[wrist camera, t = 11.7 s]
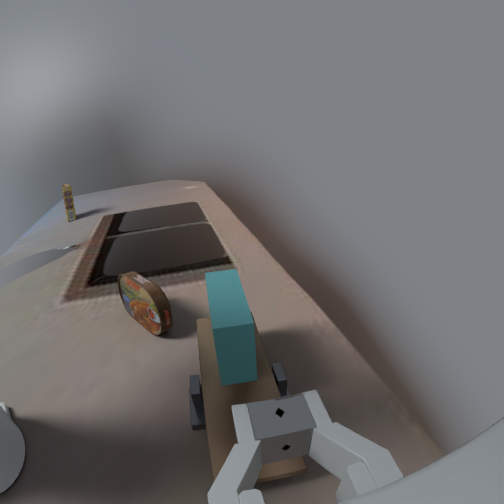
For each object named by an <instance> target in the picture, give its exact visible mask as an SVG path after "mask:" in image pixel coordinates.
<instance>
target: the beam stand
mask: <svg viewBox="0 0 504 504" xmlns="http://www.w3.org/2000/svg"><path fill="white" fill-rule="evenodd" d="M272 373H273V374H274V376H275V382H276V384H277V387H278V390H279V393H280V396H281V397H284V396H288V395H290V393H289V390H288V388H287V378H286V376H285V373H284V371H283V368H282V365H281V363H280V362H279V363H274V364H272ZM200 385H201V384H200V380H199V376H198V375H192V376H190V389H189V395H190V411H191V425H192V428H193V430H199V429H207V428H206V420H205V411H204V401H203V395H202V393H201V386H200Z"/></svg>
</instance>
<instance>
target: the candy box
mask: <svg viewBox="0 0 504 504" xmlns="http://www.w3.org/2000/svg"><path fill="white" fill-rule="evenodd" d="M62 191H63V197H64V203H65V209H66V214H67V219H68V222H69V221H73V220H76V215H75V209H74V203H73V196H72V190H71V185H70V184H65V185H62Z"/></svg>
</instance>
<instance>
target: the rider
mask: <svg viewBox="0 0 504 504" xmlns="http://www.w3.org/2000/svg"><path fill="white" fill-rule="evenodd" d="M205 276H206V284H207V292H208V301H209V308H210V316H211V324H212V331H213V337H214V344H215V350H216V356H217V362H218V368H219V374H220V380H221V385H222V386H223V385H230V384H237V383H244V382H250V381H256V380H258V379H257V363H256V347H255V331H254V321H253V318H252V315H251V312H250V309H249V306H248V303H247V300H246V297H245V294H244V291H243V288H242V285H241V282H240V279H239V276H238V273H237V270H236V269H233V270H225V271H217V272H209V273H205Z"/></svg>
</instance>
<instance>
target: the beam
mask: <svg viewBox="0 0 504 504" xmlns="http://www.w3.org/2000/svg"><path fill="white" fill-rule="evenodd" d="M251 315H252V312H251ZM252 318H253V315H252ZM253 321H254V318H253ZM254 331H255V347H256V363H257V379H258V380H256V381H250V382H244V383H237V384H230V385H223V386H222V385H221V380H220V374H219V368H218V362H217V356H216V350H215V344H214V337H213V331H212V324H211V317H209V318H201V319H197V334H198V347H199V359H200V371H201V381H202V384H201V385H200V386H201V393H202V395H203V401H204V411H205V420H206V428H207V437H208V444H209V452H210V460H211V467H212V474H213V481H215V479H216V478H217V476H218V474H219V472H220V470H221V469H222V467H223V465H224V463H225V461H226V459H227V458H228V456H229V454H230V452H231V450H232V448H233V446H234V444H238V442H237V437H236V432H235V426H234V420H233V413H232V405H238V404H245V403H252V402H259V401H265V400H272V399H274V398H279V397H281V396H280V393H279V390H278V387H277V384H276V382H275V376H274V374H273V373H272V370H271V367H270V365H269V362H268V359H267V356H266V353H265V350H264V347H263V344H262V341H261V339H260V336H259V333H258V330H257V327H256V324H255V321H254ZM306 470H307V467H306V465H305V462H304V459H303V457H302V456H300V457H296V458H291V459H286V460H282V461H277V462H273V463H268V464H264V465H262V468H261V471H260V473H259V476H258V478H257V481H256V483H262V482H267V481H272V480H277V479H282V478H286V477H291V476H295V475H299V474H303V473H306ZM256 483H255V484H256Z"/></svg>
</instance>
